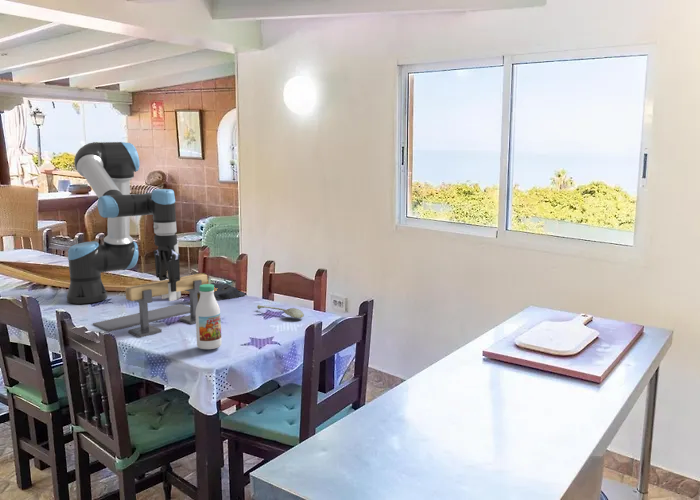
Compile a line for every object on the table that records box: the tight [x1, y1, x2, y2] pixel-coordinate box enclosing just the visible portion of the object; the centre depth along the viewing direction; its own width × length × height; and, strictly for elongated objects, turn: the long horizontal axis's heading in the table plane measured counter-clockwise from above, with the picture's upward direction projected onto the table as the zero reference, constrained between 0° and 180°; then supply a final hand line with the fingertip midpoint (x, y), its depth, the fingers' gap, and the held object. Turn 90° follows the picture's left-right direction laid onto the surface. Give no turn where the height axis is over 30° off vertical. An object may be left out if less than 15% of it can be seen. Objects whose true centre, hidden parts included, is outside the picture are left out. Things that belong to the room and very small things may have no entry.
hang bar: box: [124, 273, 209, 302], centre depth 213 cm, size 4×30×4 cm, turn 138°
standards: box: [127, 280, 202, 338], centre depth 214 cm, size 8×28×15 cm, turn 138°
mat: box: [92, 303, 190, 333], centre depth 226 cm, size 12×36×1 cm, turn 138°
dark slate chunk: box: [210, 282, 246, 302], centre depth 263 cm, size 15×22×5 cm
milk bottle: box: [195, 283, 222, 350], centre depth 192 cm, size 8×8×20 cm
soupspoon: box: [256, 304, 305, 319], centre depth 232 cm, size 22×3×7 cm
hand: (169, 299), depth 214 cm, fingers closed on hang bar, 4 cm apart
